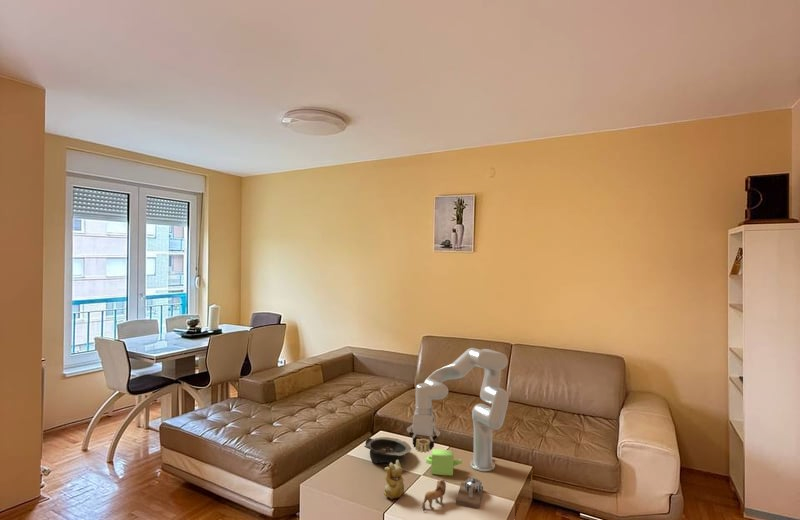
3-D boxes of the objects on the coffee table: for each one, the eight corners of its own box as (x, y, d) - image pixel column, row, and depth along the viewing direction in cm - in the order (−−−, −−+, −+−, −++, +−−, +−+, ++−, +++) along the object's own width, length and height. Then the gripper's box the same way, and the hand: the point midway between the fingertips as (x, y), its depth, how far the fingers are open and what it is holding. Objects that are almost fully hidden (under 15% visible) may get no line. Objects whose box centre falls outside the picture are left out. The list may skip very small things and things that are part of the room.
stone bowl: (357, 465, 217) (358, 447, 218) (374, 448, 241) (375, 431, 241) (403, 472, 210) (404, 453, 210) (416, 454, 234) (416, 436, 234)
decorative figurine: (395, 488, 196) (395, 456, 196) (409, 494, 191) (409, 461, 191) (381, 497, 189) (381, 463, 189) (395, 504, 184) (395, 469, 183)
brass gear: (417, 444, 205) (417, 437, 205) (432, 446, 203) (432, 439, 203) (413, 451, 198) (413, 443, 198) (428, 453, 196) (429, 446, 196)
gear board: (461, 486, 198) (461, 473, 198) (482, 490, 195) (483, 477, 195) (455, 504, 184) (455, 490, 184) (478, 508, 181) (478, 494, 181)
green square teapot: (461, 468, 217) (461, 449, 217) (462, 477, 207) (462, 457, 208) (426, 464, 219) (427, 446, 220) (425, 473, 209) (426, 454, 210)
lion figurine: (438, 495, 191) (439, 476, 190) (448, 500, 187) (448, 480, 187) (418, 510, 179) (418, 489, 179) (428, 515, 176) (428, 493, 176)
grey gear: (464, 483, 197) (464, 475, 197) (480, 484, 197) (480, 475, 197) (466, 492, 190) (466, 483, 190) (482, 493, 189) (482, 484, 189)
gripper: (443, 409, 201) (442, 446, 201) (408, 405, 207) (408, 441, 207) (439, 415, 194) (439, 453, 194) (403, 411, 199) (403, 448, 200)
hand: (423, 447), depth 200 cm, fingers closed on brass gear, 7 cm apart
